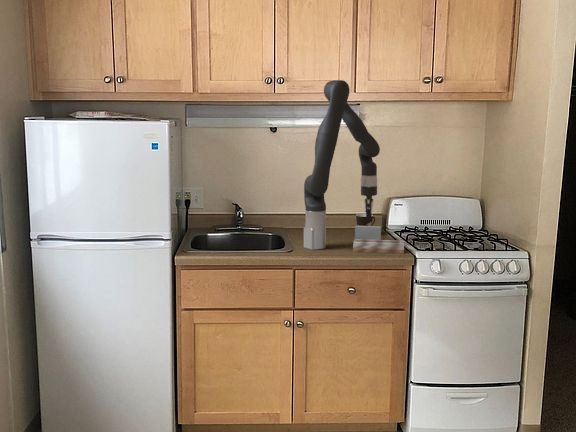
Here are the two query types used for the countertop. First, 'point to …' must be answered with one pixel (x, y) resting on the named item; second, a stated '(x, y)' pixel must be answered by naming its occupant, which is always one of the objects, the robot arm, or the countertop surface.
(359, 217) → the coffee mug
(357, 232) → the blue-gray rectangular block
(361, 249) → the track base
